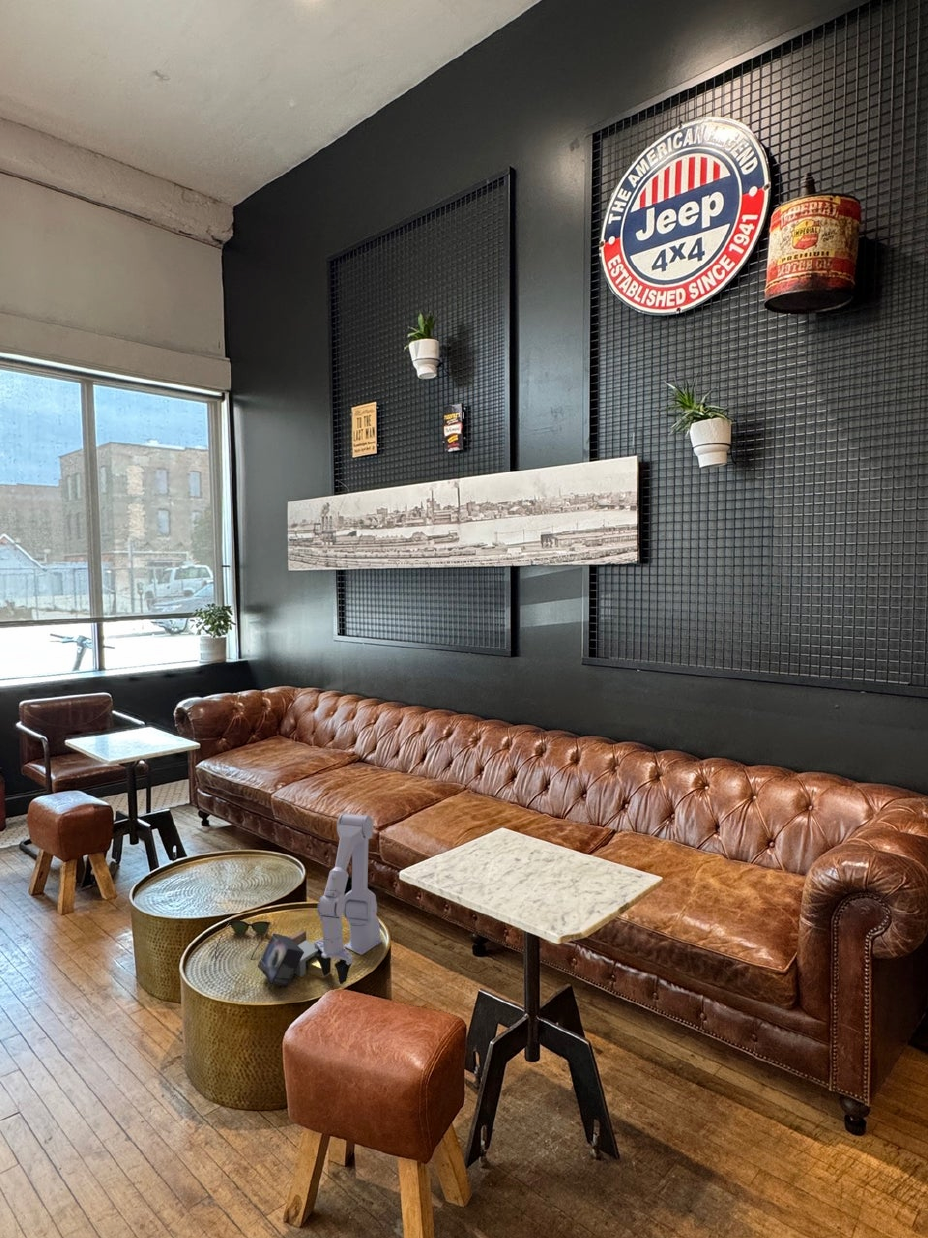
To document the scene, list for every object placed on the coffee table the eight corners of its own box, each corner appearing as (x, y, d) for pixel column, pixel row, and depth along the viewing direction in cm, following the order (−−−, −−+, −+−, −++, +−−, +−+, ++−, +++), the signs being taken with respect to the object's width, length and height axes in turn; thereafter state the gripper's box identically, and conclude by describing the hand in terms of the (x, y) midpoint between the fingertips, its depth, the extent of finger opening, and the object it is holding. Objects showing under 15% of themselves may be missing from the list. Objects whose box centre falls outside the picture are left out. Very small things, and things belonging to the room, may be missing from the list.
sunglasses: (272, 934, 242) (270, 921, 241) (255, 965, 228) (253, 951, 227) (230, 933, 244) (228, 920, 243) (211, 963, 229) (209, 949, 228)
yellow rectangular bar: (306, 963, 226) (306, 953, 225) (330, 973, 220) (330, 963, 220) (299, 968, 223) (298, 958, 222) (323, 979, 217) (322, 969, 217)
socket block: (307, 955, 229) (306, 940, 229) (322, 963, 225) (321, 947, 225) (285, 968, 223) (284, 953, 222) (300, 977, 219) (299, 961, 218)
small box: (255, 966, 218) (272, 931, 221) (272, 970, 222) (289, 936, 225) (270, 983, 210) (288, 947, 213) (288, 987, 214) (305, 952, 217)
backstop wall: (302, 946, 234) (301, 929, 233) (306, 949, 233) (305, 931, 232) (269, 967, 224) (268, 948, 223) (273, 969, 223) (272, 951, 222)
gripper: (305, 933, 215) (308, 976, 217) (339, 950, 206) (341, 994, 208) (323, 922, 220) (326, 964, 222) (357, 938, 211) (359, 981, 213)
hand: (334, 978), depth 215 cm, fingers open, 6 cm apart
